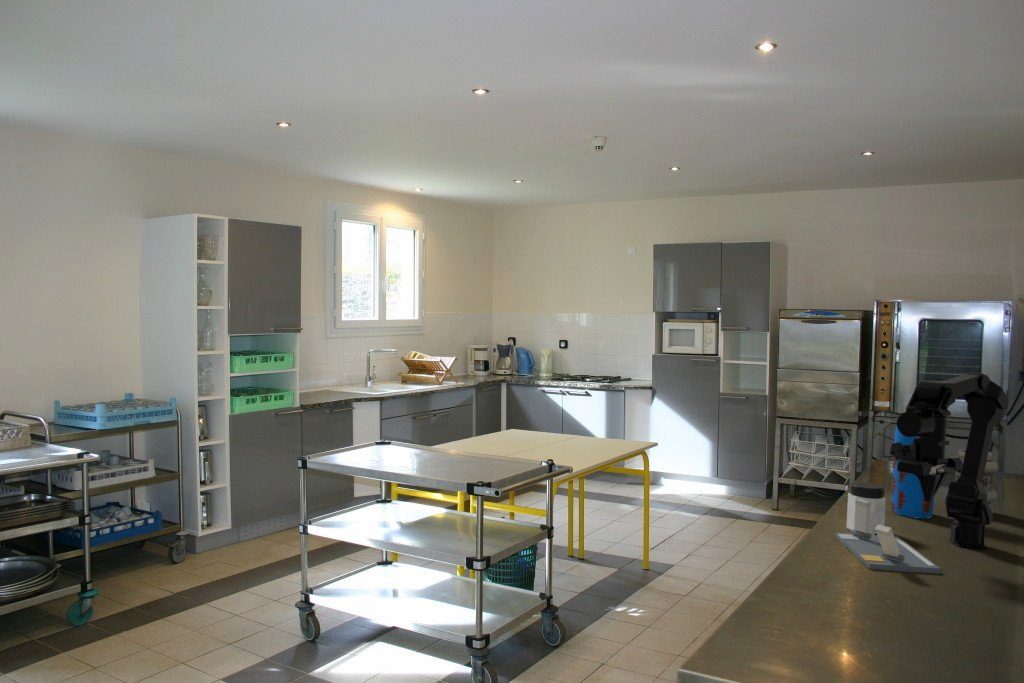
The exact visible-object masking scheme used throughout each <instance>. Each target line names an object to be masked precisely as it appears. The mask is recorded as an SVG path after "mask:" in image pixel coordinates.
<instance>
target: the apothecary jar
mask: <svg viewBox="0 0 1024 683" xmlns="http://www.w3.org/2000/svg"><path fill="white" fill-rule="evenodd" d="M965 451H966V448H964V449H963V448H962V449H959V450H958V453H957V456H956V457H959V458H960V459H961V460H962V462H963V461H964V456H965ZM992 453H993V452H990V451H989V452H988V457H987V462H986V467H985V471H984V476H983V481H982V484H983V486H984V488H985V491H986V493H987V504H988V505H989V504H992V503H994V502H995V501H997V499H998V493H997V491H996V490H995V489H994V488H993V486H994V485H993V483H994V474H995V473H997V471H999V465H998V463H997V462H996V461H995V460H994V458H993V454H992ZM960 475H961V470H955V475H954V476H955V477H954V478H955V479H954V482H955V481H956V480H958V479H959V478H960Z"/></svg>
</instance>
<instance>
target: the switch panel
mask: <svg viewBox="0 0 1024 683" xmlns="http://www.w3.org/2000/svg"><path fill="white" fill-rule="evenodd" d="M835 537H836V538H837V539H838V540H839V541H838V542H839V543H841V545H843V546H844V547H845V548H846V547H847V548H848V549H849V550H850V551H851V552H852V553H853V554H854V555H855V556H856V557H857V558H858V561H859V562H861V563H862V562H863V563H864V564H865V565H866V566H867V567H868V568H869V569H868V568H867V567H866V566H865V565H864V564H863V563H862V564H863V565H864V566H865V567H866V568H867V569H868V570H874V569H881V570H880V571H890V570H892V571H891V572H893V571H894V572H905V571H906V573H908V572H909V573H923V574H937V575H939V574H941V567H939V566H938V565H936V564H935V563H934V562H933V561H931V560H930V559H929V558H927V557H926V556H924V555H923V554H922V553H920V552H919V551H918V550H916V549H915V548H914V547H912V546H911V545H910V544H909V543H907V542H906V541H904V540H903V539H902V538H900V537H899V536H898V535H894V538H895V540H896V543H897V546H898V548H899V551H900V555H904V561H903V562H902V561H898V560H895V559H892V558H888V557H885V556H883V555H882V552H883V548H882V546H881V543H880V541H879V538H878V535H871V539H866V538H862V537H859V536H855V535H852V532H850V533H848V532H847V533H846V532H835V533H834V538H835ZM836 538H835V539H836ZM837 539H836V540H837ZM847 548H846V549H847ZM848 549H847V550H848ZM849 550H848V551H849ZM850 551H849V552H850ZM851 552H850V553H851ZM852 553H851V554H852ZM853 554H852V555H853ZM854 555H853V556H854ZM855 556H854V557H855ZM856 557H855V558H856ZM857 558H856V559H857Z"/></svg>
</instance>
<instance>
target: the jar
mask: <svg viewBox="0 0 1024 683" xmlns="http://www.w3.org/2000/svg"><path fill="white" fill-rule="evenodd" d="M849 485H850V488H849V492H848V494H847V508H846V509H847V510H846V512H847V513H846V529H848V530H849V531H852V530H853V529H854V525H855V500H858V499H860V500H864V501H869V502H871V504H870V518H869V532H868V533H869V534H872V535H875V534H877V533H876V531H875V528H876V526H877V525H882V526H885V520H886V517H885V516H886V499H887V498H886V497H885V487H884V486H883V485H881V484H878V483H874V482H869V481H868V482H865V481H852V482H851V483H850V484H849Z"/></svg>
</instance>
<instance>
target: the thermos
mask: <svg viewBox="0 0 1024 683" xmlns="http://www.w3.org/2000/svg"><path fill="white" fill-rule="evenodd" d="M914 438H918V436H916V437H906V436H904V435H902V434H901V433H900V432H899V430H898V428H897V424H896V425H895V431H894V443H897V442H901V443H902V444H903V445H910V444H913V439H914ZM910 459H911V458H910ZM900 460H901V459H900ZM900 460H898V461H900ZM898 461H895V458H894V457H893V466H892V467H893V468H892V483H891V484H892V485H891V512H892V513H893V512H894V513H896V514H895V515H897V514H900V515H903V516H902V517H904V516H910V517H919V518H927V517H931V516H932V517H933V512H934V506H935V504H934V502H935V496H934V497H933V499H932V501H930V502H928V501H925V499H924V495H923V492H922V488H921V485H920V482H919V479H918V478H917V477H916V476H915V475H914V474H910V473H905V472H900V471H897V462H898ZM894 513H893V514H894ZM900 515H899V516H900ZM910 517H909V518H910ZM927 519H928V518H927Z"/></svg>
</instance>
